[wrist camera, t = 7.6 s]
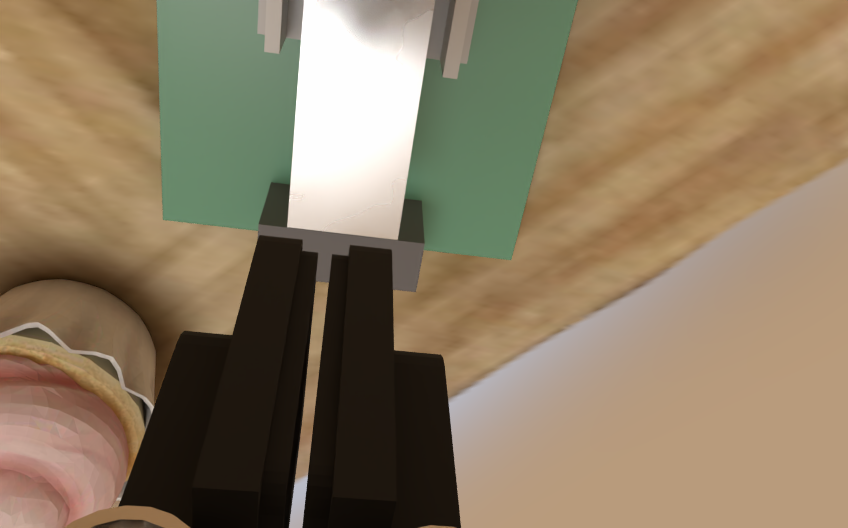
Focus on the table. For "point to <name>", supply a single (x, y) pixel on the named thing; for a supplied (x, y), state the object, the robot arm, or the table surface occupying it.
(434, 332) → the table surface
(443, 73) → the board
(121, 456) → the cupcake
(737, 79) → the table surface
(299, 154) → the grey long bar
